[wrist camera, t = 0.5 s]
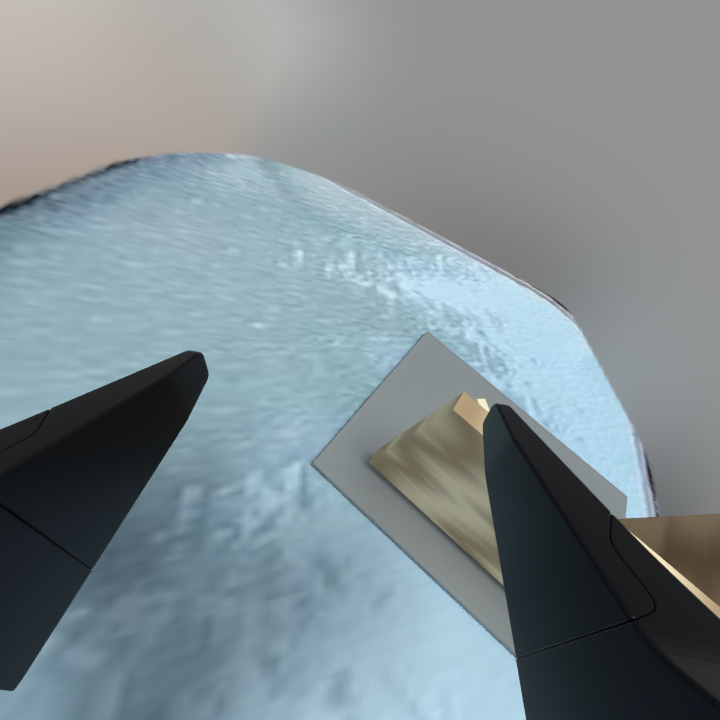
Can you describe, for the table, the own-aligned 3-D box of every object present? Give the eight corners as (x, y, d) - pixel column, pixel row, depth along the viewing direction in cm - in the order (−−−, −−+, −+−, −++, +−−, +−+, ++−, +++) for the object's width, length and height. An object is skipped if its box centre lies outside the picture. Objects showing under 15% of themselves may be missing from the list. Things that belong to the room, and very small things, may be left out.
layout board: (595, 732, 19) (606, 738, 19) (311, 464, 22) (312, 462, 21) (620, 497, 29) (628, 496, 29) (424, 334, 32) (427, 330, 31)
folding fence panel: (560, 615, 20) (800, 675, 11) (557, 634, 20) (809, 714, 11) (377, 449, 22) (463, 391, 13) (368, 462, 21) (453, 409, 13)
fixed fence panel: (588, 690, 20) (1001, 876, 9) (551, 655, 20) (905, 794, 9) (607, 537, 26) (864, 537, 15) (579, 513, 26) (810, 496, 15)
